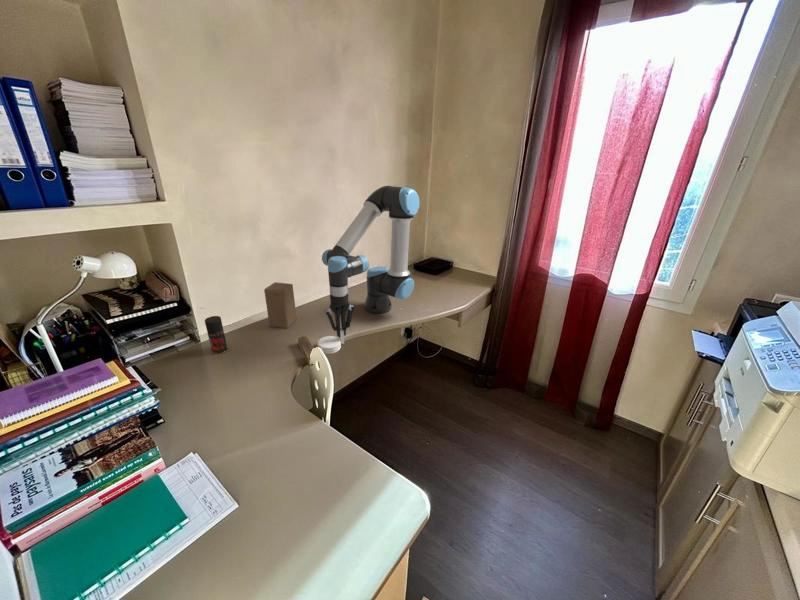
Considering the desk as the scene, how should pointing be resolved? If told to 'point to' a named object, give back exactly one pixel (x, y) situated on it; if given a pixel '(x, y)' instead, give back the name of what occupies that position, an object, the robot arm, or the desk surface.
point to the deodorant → (216, 334)
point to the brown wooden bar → (305, 347)
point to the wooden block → (280, 304)
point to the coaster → (329, 344)
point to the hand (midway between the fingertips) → (341, 342)
